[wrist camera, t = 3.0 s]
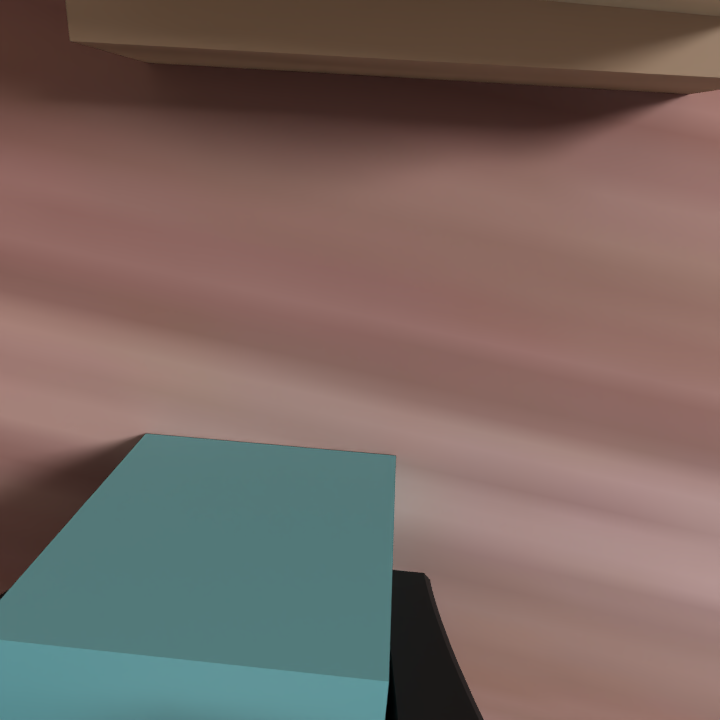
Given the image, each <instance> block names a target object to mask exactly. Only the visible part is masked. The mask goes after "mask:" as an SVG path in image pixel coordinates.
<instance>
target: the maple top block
mask: <svg viewBox="0 0 720 720" xmlns="http://www.w3.org/2000/svg"><path fill="white" fill-rule="evenodd" d="M546 1H557V2H567V3H578V4H589V5H600V6H611V7H622V8H633V9H644V10H655V11H666V12H677V13H688V14H699V15H710V16H720V0H546Z"/></svg>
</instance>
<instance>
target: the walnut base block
mask: <svg viewBox="0 0 720 720" xmlns="http://www.w3.org/2000/svg"><path fill="white" fill-rule="evenodd" d="M65 3H66V12H67V21H68V30H69V38H70V41H71V42H75V43H78V44H82V45H86V46H89V47H93V48H96V49H100V50H103V51H107V52H111V53H114V54H118V55H121V56H125V57H128V58H132V59H136V60H139V61H143V62H146V63H160V64H178V65H195V66H212V67H230V68H247V69H264V70H282V71H299V72H316V73H333V74H351V75H368V76H385V77H403V78H420V79H437V80H455V81H472V82H489V83H507V84H524V85H541V86H558V87H576V88H593V89H610V90H628V91H645V92H662V93H680V94H693V93H700V92H707V91H714V90H720V16H710V15H699V14H688V13H677V12H666V11H655V10H644V9H633V8H622V7H611V6H600V5H589V4H578V3H567V2H557V1H546V0H65Z"/></svg>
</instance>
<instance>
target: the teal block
mask: <svg viewBox="0 0 720 720" xmlns="http://www.w3.org/2000/svg"><path fill="white" fill-rule="evenodd" d="M395 468H396V456H394V455H383V454H371V453H360V452H349V451H337V450H326V449H315V448H303V447H292V446H281V445H269V444H258V443H247V442H235V441H224V440H213V439H201V438H190V437H179V436H167V435H156V434H145V435H144V436H143V437H142V439H141V440H140V441H139V442H138V443H137V444H136V445H135V447H134V448H133V449H132V450H131V451H130V452H129V453H128V455H127V456H126V457H125V458H124V459H123V460H122V461H121V463H120V464H119V465H118V466H117V467H116V468H115V469H114V471H113V472H112V473H111V474H110V475H109V476H108V477H107V479H106V480H105V481H104V482H103V483H102V484H101V485H100V487H99V488H98V489H97V490H96V491H95V492H94V493H93V494H92V496H91V497H90V498H89V499H88V500H87V501H86V502H85V504H84V505H83V506H82V507H81V508H80V509H79V510H78V512H77V513H76V514H75V515H74V516H73V517H72V518H71V520H70V521H69V522H68V523H67V524H66V525H65V526H64V528H63V529H62V530H61V531H60V532H59V533H58V534H57V536H56V537H55V538H54V539H53V540H52V541H51V542H50V544H49V545H48V546H47V547H46V548H45V549H44V550H43V552H42V553H41V554H40V555H39V556H38V557H37V558H36V560H35V561H34V562H33V563H32V564H31V565H30V566H29V568H28V569H27V570H26V571H25V572H24V573H23V574H22V576H21V577H20V578H19V579H18V580H17V581H16V582H15V584H14V585H13V586H12V587H11V588H10V589H9V590H8V592H7V593H6V594H5V595H4V596H3V597H2V598H1V599H0V720H385V714H386V705H387V695H388V685H389V661H390V629H391V597H392V565H393V533H394V500H395Z"/></svg>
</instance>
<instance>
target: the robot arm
mask: <svg viewBox="0 0 720 720" xmlns="http://www.w3.org/2000/svg"><path fill="white" fill-rule="evenodd" d="M7 592H8V590H7V591H6V592H4V593H3V594H1V595H0V599H1V598H2V597H3V596H4V595H5V594H6V593H7ZM385 720H483V717H482V715H481V713H480V711H479V709H478V707H477V705H476V703H475V701H474V698H473V696H472V694H471V691H470V689H469V687H468V685H467V682H466V680H465V678H464V676H463V673H462V671H461V669H460V666H459V664H458V662H457V659H456V657H455V655H454V652H453V650H452V647H451V645H450V642H449V639H448V637H447V634H446V631H445V629H444V626H443V623H442V620H441V617H440V614H439V611H438V608H437V605H436V602H435V598H434V595H433V591H432V587H431V583H430V579H429V578H428V577H427V576H426V575H425V574H424V573H418V572H408V571H397V570H392V597H391V629H390V661H389V685H388V695H387V705H386V714H385Z"/></svg>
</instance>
